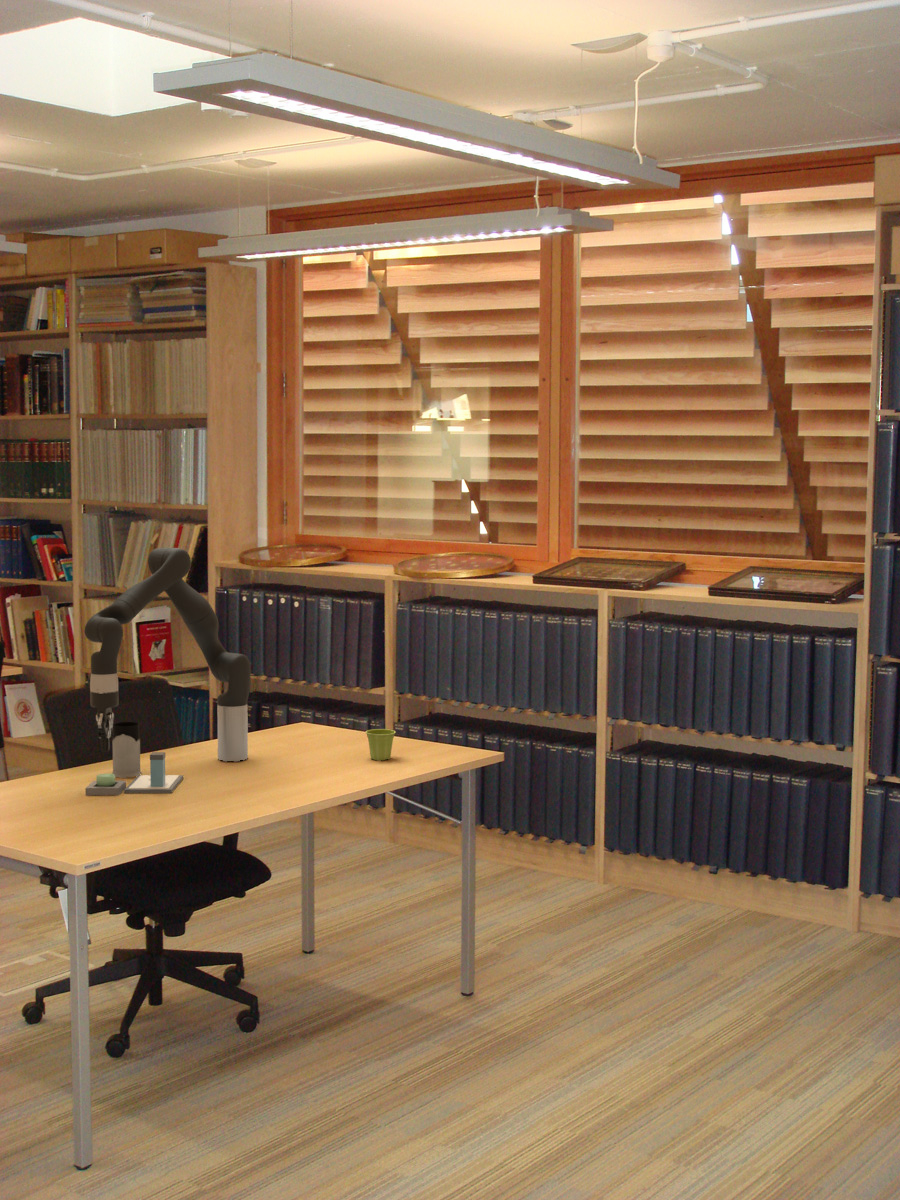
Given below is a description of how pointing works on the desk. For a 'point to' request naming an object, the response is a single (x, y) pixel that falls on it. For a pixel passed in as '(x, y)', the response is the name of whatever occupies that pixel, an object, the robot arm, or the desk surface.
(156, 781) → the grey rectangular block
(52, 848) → the desk surface
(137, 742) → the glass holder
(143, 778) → the whiteboard
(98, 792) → the button housing
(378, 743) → the plant pot
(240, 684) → the robot arm
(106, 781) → the button
